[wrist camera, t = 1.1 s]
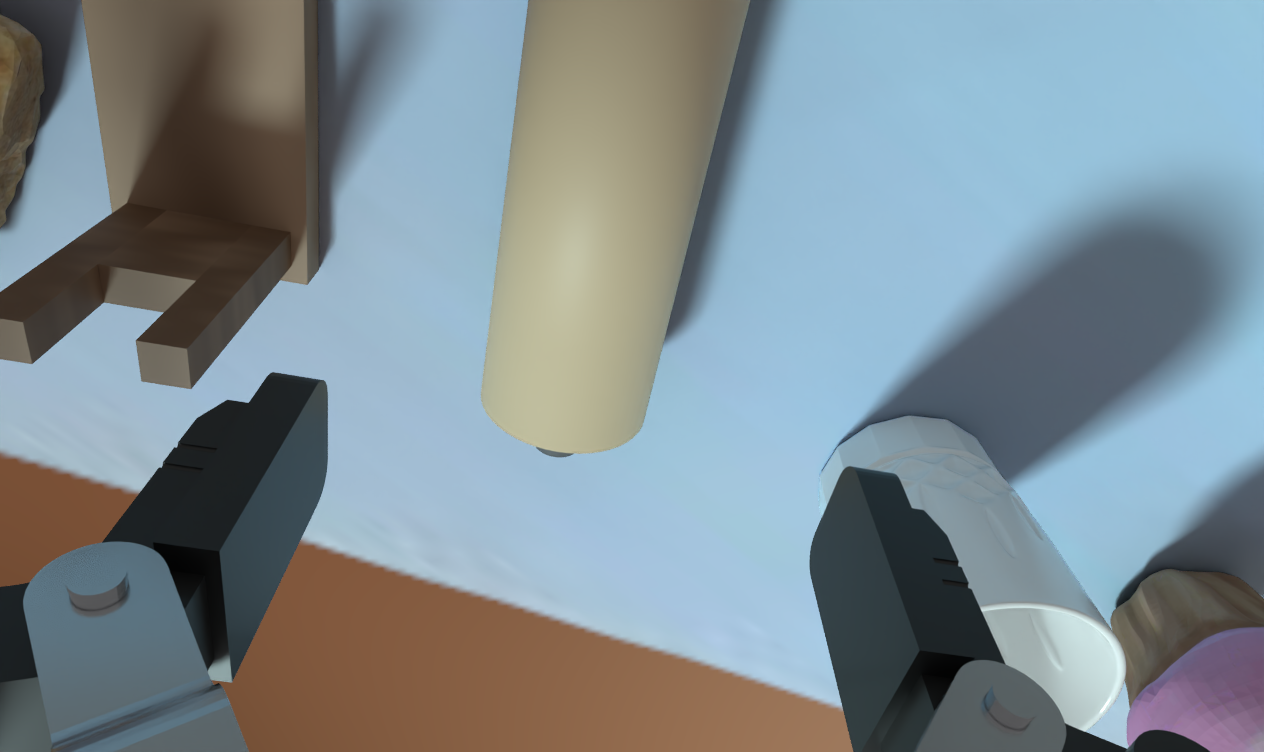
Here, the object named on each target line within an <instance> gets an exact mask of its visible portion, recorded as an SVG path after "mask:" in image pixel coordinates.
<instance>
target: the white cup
mask: <svg viewBox="0 0 1264 752" xmlns="http://www.w3.org/2000/svg"><path fill="white" fill-rule="evenodd" d="M848 466H852V467H858V468H865V469H871V470H877V471H883V472H889V473H895V474H896V475H897V476H898V477H899V479H900V481H901V483H902V486H903V488H904V490H905V493H906V495H907V497H908V500H909V502H910V505H911V507H912V508H914V509H921V510H924V511H925V512H926V513H927V514H928V515H929V516H930V517H931V518H932V519H933V520H934V522H935V523H936V524H937V525H938V526H939V527H940V528H941V529H942V530H943V531H944V532H945V534H946V535H947V536H948V538H949V541H950V543H951V545H952V547H953V549H954V552H955V554H956V556H957V558H958V560H959V563H958V566H960V567H962V569H963V571H964V574H965V576H966V578H967V580H968V582H969V584H968V588H970V589H972V591H973V593H974V596H975V598H976V600H977V602H978V604H979V607H980V609H981V611H982V613H983V615H984V618H985V620H986V622H987V624H988V626H989V629H990V631H991V633H992V635H993V637H994V640H995V642H996V644H997V646H998V648H999V650H1000V653H1001V655H1002V657H1003V659H1004V661H1005V664H1006V665H1008V666H1010V667H1012V668H1015V669H1017V670H1018V671H1020V672H1022V673H1024V674H1025V675H1027V676H1028V677H1029V678H1031V679H1032V680H1034V681H1035V682H1036V683H1037V684H1038V685H1040V686H1041V687H1042V688H1043V689H1044V690H1045V691H1046V692H1047V693H1048V695H1049V696H1050V697H1051V698H1052V700H1053V701H1054V702H1055V704H1056V705H1057V707H1058V708H1059V710H1060V712H1061V714H1062V717H1063V719H1064V722H1065V723H1066V724H1068V725H1070V726H1072V727H1075V728H1077V729H1079V730H1082V731H1084V732H1086V731H1087V730H1088V729H1089V728H1091V727H1092V726H1093V725H1094V724H1096V723H1097V722H1098V721H1099V720H1100V719H1101V718H1102V717H1103V716H1104V715H1105V714H1106V713H1107V711H1108V710H1109V709H1110V708H1111V707H1112V705H1113V704H1114V702H1115V701H1116V699H1117V697H1118V696H1119V694H1120V692H1121V689H1122V687H1123V684H1124V681H1125V676H1126V658H1125V654H1124V651H1123V648H1122V646H1121V644H1120V642H1119V640H1118V639H1117V637H1116V636H1115V634H1114V633H1113V631H1112V630H1111V628H1110V627H1109V625H1108V624H1107V623H1106V621H1105V620H1104V618H1103V617H1102V615H1101V614H1100V612H1099V611H1098V609H1097V608H1096V606H1095V605H1094V604H1093V602H1092V601H1091V599H1090V598H1089V596H1088V595H1087V593H1086V592H1085V590H1084V589H1083V587H1082V586H1081V584H1080V583H1079V581H1078V580H1077V578H1076V577H1075V575H1074V574H1073V572H1072V571H1071V569H1070V568H1069V566H1068V565H1067V563H1066V562H1065V560H1064V559H1063V557H1062V556H1061V554H1060V553H1059V551H1058V550H1057V548H1056V547H1055V545H1054V544H1053V543H1052V541H1051V540H1050V538H1049V537H1048V535H1047V534H1046V533H1045V531H1044V530H1043V529H1042V527H1041V526H1040V525H1039V523H1038V522H1037V521H1036V519H1035V518H1034V517H1033V516H1032V514H1031V513H1030V511H1029V510H1028V508H1027V507H1026V505H1025V504H1024V502H1023V501H1022V500H1021V498H1020V497H1019V495H1018V494H1017V493H1016V491H1015V490H1014V489H1013V488H1012V487H1011V486H1010V485H1009V484H1008V483H1007V481H1006V480H1005V479H1004V478H1003V477H1002V476H1001V475H1000V473H999V472H998V470H997V469H996V467H995V466H994V464H993V463H992V461H991V460H990V458H989V457H988V455H987V453H986V452H985V450H984V449H983V447H982V446H981V444H980V443H979V441H978V440H977V439H976V437H974V436H973V435H971V434H969V433H968V432H966V431H965V430H963V429H961V428H960V427H958V426H956V425H955V424H953V423H952V422H950V421H948V420H946V419H938V418H929V417H920V416H911V415H908V416H903V417H899V418H895V419H891V420H887V421H883V422H880V423H876V424H872V425H869V426H867V427H866V428H864V429H863V430H861V431H860V432H858V433H857V434H855V435H854V436H852V437H851V438H849V439H848V440H847V441H845V442H844V443H842V444H841V445H839V446H838V447H837V448H836V450H835V452H834V453H833V455H832V456H831V458H830V459H829V461H828V463H827V464H826V466H825V467H824V469H823V470H822V472H821V474H820V479H819V509H820V514H821V518H822V516H823V514H824V511H825V509H826V507H827V504H828V502H829V500H830V497H831V495H832V493H833V490H834V488H835V486H836V483H837V481H838V479H839V476H840V474H841V473H842V471H843V470H844V469H845V468H846V467H848Z"/></svg>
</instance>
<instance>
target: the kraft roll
mask: <svg viewBox="0 0 1264 752" xmlns="http://www.w3.org/2000/svg"><path fill="white" fill-rule="evenodd" d="M749 4H750V0H528V9H527V17H526V25H525V33H524V42H523V50H522V58H521V66H520V75H519V83H518V91H517V99H516V108H515V116H514V124H513V133H512V141H511V149H510V157H509V166H508V174H507V182H506V190H505V199H504V207H503V215H502V223H501V232H500V240H499V248H498V257H497V265H496V273H495V281H494V290H493V298H492V306H491V314H490V323H489V331H488V339H487V347H486V356H485V364H484V372H483V380H482V389H481V401H482V404H483V407H484V409H485V411H486V413H487V415H488V416H489V417H490V419H491V420H492V421H493V422H494V423H495V424H496V425H497V426H498V427H500V428H501V429H502V430H503V431H505V432H506V433H508V434H509V435H511V436H513V437H514V438H516V439H518V440H520V441H523V442H525V443H527V444H530V445H533V446H535V447H536V448H537V449H538V450H539V451H541V452H542V453H544V454H546V455H549V456H553V457H567V456H570V455H572V454H574V453H578V454H582V453H595V452H602V451H606V450H610V449H613V448H616V447H618V446H621V445H623V444H625V443H626V442H628V441H629V440H631V439H632V438H633V437H634V436H635V435H636V434H637V433H638V432H639V430H640V429H641V427H642V425H643V422H644V418H645V414H646V410H647V406H648V402H649V399H650V395H651V391H652V387H653V383H654V379H655V375H656V371H657V367H658V363H659V359H660V355H661V351H662V347H663V343H664V339H665V335H666V331H667V327H668V323H669V320H670V316H671V312H672V308H673V304H674V300H675V296H676V292H677V288H678V284H679V280H680V276H681V272H682V268H683V264H684V260H685V256H686V252H687V248H688V245H689V241H690V237H691V233H692V229H693V225H694V221H695V217H696V213H697V209H698V205H699V201H700V197H701V193H702V189H703V185H704V181H705V177H706V173H707V170H708V166H709V162H710V158H711V154H712V150H713V146H714V142H715V138H716V134H717V130H718V126H719V122H720V118H721V114H722V110H723V106H724V102H725V98H726V95H727V91H728V87H729V83H730V79H731V75H732V71H733V67H734V63H735V59H736V55H737V51H738V47H739V43H740V39H741V35H742V31H743V27H744V23H745V20H746V16H747V12H748V8H749Z"/></svg>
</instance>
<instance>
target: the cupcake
mask: <svg viewBox="0 0 1264 752" xmlns="http://www.w3.org/2000/svg"><path fill="white" fill-rule="evenodd" d="M1111 626H1112V631H1113V633H1114V634H1115V636H1116V637H1117V639H1118V640H1119V642H1120V644H1121V646H1122V648H1123V651H1124V654H1125V658H1126V676H1125V683H1126V687H1127V692H1128V698H1129V706H1130V711H1129V714H1128V718H1127V742H1128V746H1129V747H1130V745H1131V744H1132V743H1133V742H1134V741H1135V740H1136V738H1137V737H1138V736H1139V735H1141V734H1142V733H1143V732H1146V731H1149V730H1166V731H1170V732H1174V733H1177V734H1180V735H1182V736H1185V737H1187V738H1189V739H1191V740H1193V741H1195V742H1197V743H1198V744H1200V745H1201V746H1203V747H1205V748H1206V749H1208V750H1209V751H1210V752H1264V599H1263V598H1262V597H1261V596H1260V595H1259V594H1258V593H1257V592H1256V591H1255V590H1254V589H1253V588H1251V587H1250V586H1249V585H1248V584H1247V583H1245V582H1244V581H1243V580H1241V579H1240V578H1238V577H1235V576H1232V575H1229V574H1226V573H1221V572H1194V571H1178V570H1175V569H1165V570H1161V571H1159V572H1156V573H1154V574H1152V575H1150V576H1149V577H1147V578H1146V579H1145V580H1143V581H1142V582H1141V583H1140V585H1139V587H1138V588H1137V590H1136V592H1135V593H1134V594H1133V596H1132V597H1131V598H1130V599H1129V600H1128V601H1126V602H1125V603H1123V604H1122V605H1120V606H1119V607H1117V608H1116V609H1115V610H1114V611H1113V613H1112V616H1111Z"/></svg>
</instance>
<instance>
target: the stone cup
mask: <svg viewBox="0 0 1264 752" xmlns="http://www.w3.org/2000/svg"><path fill="white" fill-rule="evenodd" d="M44 90H45V87H44V78H43V67H42V48H41V44H40V43H39V41H38V40H37V38H36V37H35V36H34V35H33V34H32V33H31V32H29V31H28V30H27V29H26V28H24V27H23V26H22V25H20V24H19V23H18V22H16V21H13V20H11V19H9V18H7V17H5V16H3V15H0V228H1V227H2V226H3V224H4V223H5V222H6V221H7V220H6V213H5V211H6V209H7V207H8V206H9V204H10V203H11V201H12V199H13V198H14V195H15V190H16V185H17V183H18V182H19V181H20V179H21V178H22V177H23V173H24V170H25V167H26V150H27V148H28V146H29V145H30V144H31V143H32V142H33V140H34V137H35V134H36V131H37V127H38V124H39V120H40V96H41V94H42V93H43V91H44Z"/></svg>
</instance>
